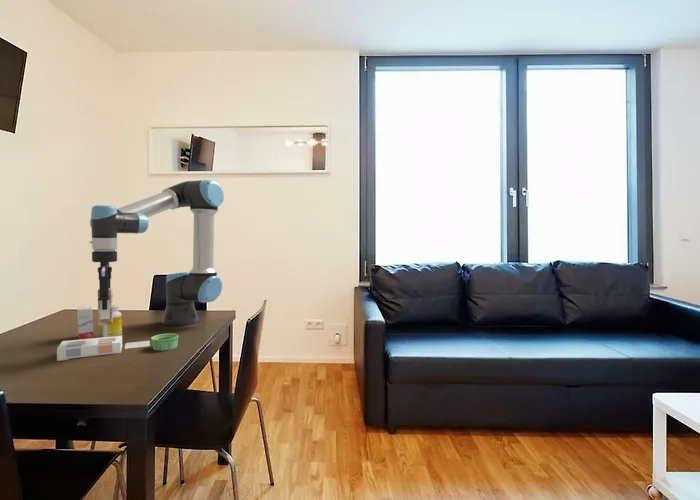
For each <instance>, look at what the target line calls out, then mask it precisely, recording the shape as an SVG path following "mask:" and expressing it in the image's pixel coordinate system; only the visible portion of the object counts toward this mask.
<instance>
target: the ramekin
mask: <svg viewBox="0 0 700 500" xmlns="http://www.w3.org/2000/svg"><path fill="white" fill-rule="evenodd" d="M150 339H151V344H152V345H151V346H152V350H154V351H161V352H163V351H169V350H174V349H176V348H178V343H179V342H178V341H179V334H177V333H162V334H156V335H154V336H153V335H152V336H151V337H150Z"/></svg>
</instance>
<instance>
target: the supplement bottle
mask: <svg viewBox="0 0 700 500" xmlns="http://www.w3.org/2000/svg"><path fill="white" fill-rule="evenodd" d="M112 307H113V322H112V324H109V325H101V326H102V327H101V328H102V329H101V330H102V337H113V336H122V337H123V320H122V318H123V317H122V313H121V311H119V309H120V308H119V304H118V305H117V304H112Z"/></svg>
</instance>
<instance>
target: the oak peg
mask: <svg viewBox="0 0 700 500" xmlns="http://www.w3.org/2000/svg"><path fill="white" fill-rule="evenodd" d="M112 295H113V288H112V287H110V288H109V306H110V319H100V301H98V299H100V298H99V297H100V289H99V288H98V290H97V317H98V318H97V321H98V323H97V325H98V326H102V325H109V324H112V322H113V307H112V305H113V297H112Z"/></svg>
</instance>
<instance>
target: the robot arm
mask: <svg viewBox="0 0 700 500" xmlns="http://www.w3.org/2000/svg"><path fill="white" fill-rule="evenodd" d="M224 197H225V195H224V191H223V188H222V187H221V186H220V184H219V183H218V182H217V181H215V180H211V179H201V180H198V179H197V180H187V181H182V182H180V183H176V184H174V185H172V186H170V187H167V188H164V189H163V190H161V191H160V192H159V193H157V194H154V195H151V196H148V197H146V198H143V199H140V200H137V201H134V202H132V203H129V204H126V205H124V206H121V207H118V208H117V207H116V206H115V205H100V204H99V205H93V206H92V207H91V214H90V220H89V226H90V227H91V240H90V241H89V244H91V249H92V250H93V251H92V252H91V261H92V263H99V267H97V273H98V282H99V288H98V289H100V297H99V298H100V299H98V298H97V302H98V301H100V319H110V306H109V288H111V279H112V271H113V268H112V266H110V263H115V262H117V261H118V251H116V250H117V249H118V234H135V235H137V234H144V233H145V232H147V230H148V228H149V218H150V217H152V216H155V215H157V214H160V213H162V212H164V211H168V210H174V211H175V210H176V209H179V208H189V211H190V212H191V213H192V214H193V241H192V242H193V244H192V246H193V247H192V249H193V250H192V253H193V254H192V269H190V271H184V272H175V273H169V274H167V275H166V278H165V279H166V281H165V292H166V293H165V296H166V298H165V299H166V307H165V309H164V313H163V317H162V324H163V325H166V326H184V325H191V324H195V323H198V321H199V319H198V318H199V316H198V314H197V313H198V312H197V310H196V307H195V303H194V302H200V303H213V302H214V301H216V300H217V299H218V297H219V296H220V295H221V293H222V290H223V282H222V280H221V278H220V277H218V274H217V273H218V272H217V270H216V269H215V268H214V253H215V252H214V250H215V248H214V247H215V246H214V242H215V241H214V239H215V215H216V213H218V212H219V207H220V206H222V203H224V199H225V198H224ZM112 298H114V297H113V294H112Z"/></svg>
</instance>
